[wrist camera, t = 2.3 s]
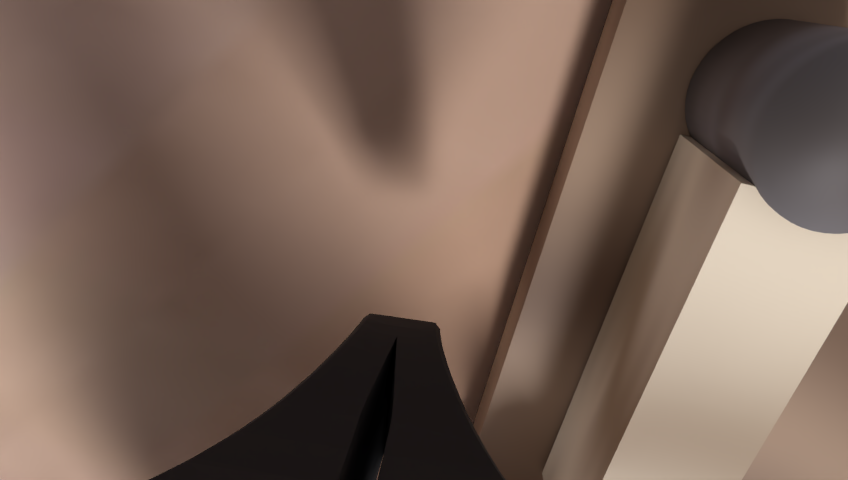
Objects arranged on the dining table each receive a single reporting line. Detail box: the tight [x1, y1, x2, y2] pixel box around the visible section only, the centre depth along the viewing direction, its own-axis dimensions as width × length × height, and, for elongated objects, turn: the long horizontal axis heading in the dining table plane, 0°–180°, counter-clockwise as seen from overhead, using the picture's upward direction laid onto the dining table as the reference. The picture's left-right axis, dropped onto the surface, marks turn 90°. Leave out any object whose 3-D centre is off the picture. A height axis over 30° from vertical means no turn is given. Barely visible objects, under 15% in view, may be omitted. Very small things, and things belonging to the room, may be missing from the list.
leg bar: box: [542, 19, 848, 480], centre depth 12 cm, size 11×3×3 cm, turn 167°
